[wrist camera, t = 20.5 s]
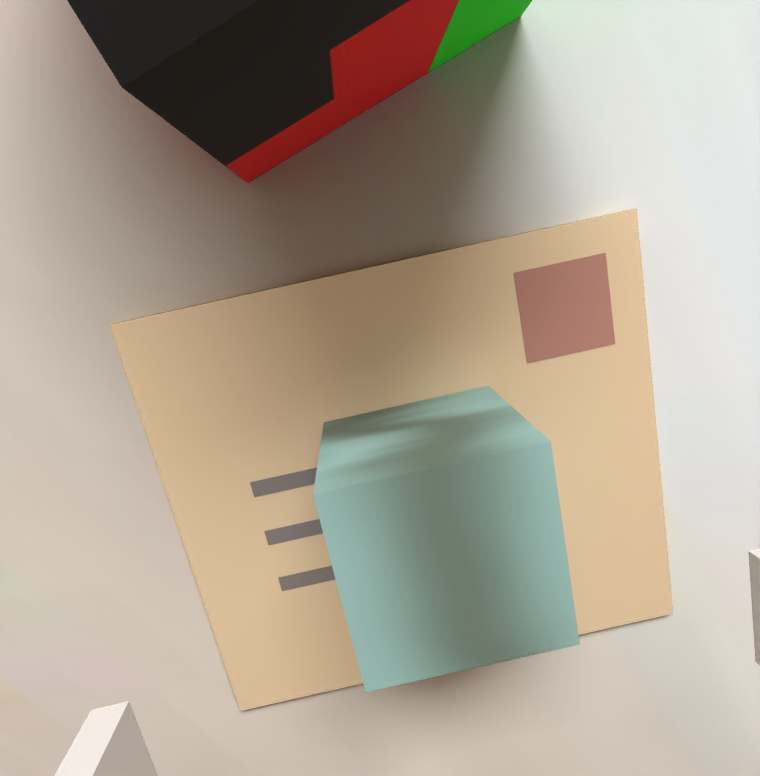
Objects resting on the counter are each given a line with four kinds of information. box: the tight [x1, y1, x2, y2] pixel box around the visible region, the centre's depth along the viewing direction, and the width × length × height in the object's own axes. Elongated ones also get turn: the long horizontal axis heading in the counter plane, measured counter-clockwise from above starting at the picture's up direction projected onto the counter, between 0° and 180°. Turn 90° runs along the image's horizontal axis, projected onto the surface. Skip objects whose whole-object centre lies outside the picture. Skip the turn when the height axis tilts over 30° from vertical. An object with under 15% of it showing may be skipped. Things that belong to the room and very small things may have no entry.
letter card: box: [110, 209, 673, 711], centre depth 20 cm, size 18×16×1 cm
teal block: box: [313, 386, 580, 692], centre depth 17 cm, size 6×6×6 cm
